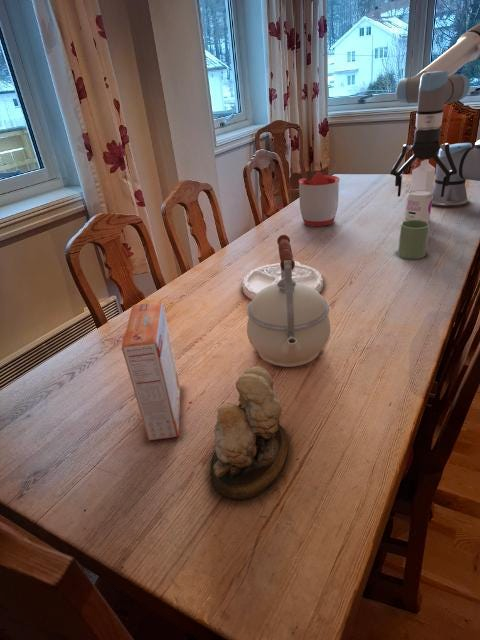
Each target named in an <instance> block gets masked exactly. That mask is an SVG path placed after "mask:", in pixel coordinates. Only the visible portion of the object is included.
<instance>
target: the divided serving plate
mask: <svg viewBox="0 0 480 640" xmlns="http://www.w3.org/2000/svg"><path fill="white" fill-rule="evenodd" d="M293 261H294V263H295V267H294V269H293V270H292V280H293V281H294V282H296V283H301V284H305V285H308V286H310V287H312V288H314V289H315V290H316V291H318V292H319V294H320V293H321V292H322V290H323V287H324V280H323V274H322V273H320V272H319V270H318V269H315V268H314V267H313V266H309V265H307V264H301V262H299V261H297V260H293ZM280 263H281V262H280ZM280 263H279V262H276V263H271V264H270V263H269V264H266V265H263V266H259V267H257V268H254V269H251V271H250V272H247V273H246V275H245V276H244V277H243V278H242V279H243V281H242V291H243V294H244V295H245V296H246V297H247V298H249V299H250V300H251V301H252V300H253V298H254V297H255V296H256V294H257V293H258V292H259V291H261V290H262V289H264V288H266V287H268V286H270V285H273V284H277V283H278V282H279V281H280V280H281V266H280Z"/></svg>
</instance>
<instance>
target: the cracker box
mask: <svg viewBox="0 0 480 640" xmlns="http://www.w3.org/2000/svg"><path fill="white" fill-rule="evenodd" d="M121 351H122V354H123V357H124V361H125V364H126V369H127V371H128V375H129V378H130V382H131V385H132V389H133V392H134V396H135V399H136V402H137V406H138V410H139V413H140V417H141V421H142V423H143V427H144V430H145V435H146V438H147V440H148V441H149V442H150V441H156V440H164V439H173V438H179V436H180V411H181V390H182V389H181V382H180V379H179V373H178V369H177V364H176V360H175V355H174V351H173V346H172V341H171V337H170V331H169V327H168V321H167V316H166V312H165V308H164V303H163V301H156V302H149V303H148V302H147V303H138V304H132V306H131V309H130V314H129V317H128V322H127V324H126V329H125V333H124V337H123V340H122V344H121Z"/></svg>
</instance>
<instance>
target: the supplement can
mask: <svg viewBox="0 0 480 640" xmlns="http://www.w3.org/2000/svg"><path fill="white" fill-rule="evenodd" d="M432 206H433V205H432V195H431V192H430V191H425V190H414V191H410V190H409V192H408V194H407V195H406V199H405V208H404V218H403V222H404V221H408V220H421V221H426V222H428V223H429V224H430V220H431V219H430V218H431V212H432Z"/></svg>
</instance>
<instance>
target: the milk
mask: <svg viewBox="0 0 480 640" xmlns="http://www.w3.org/2000/svg"><path fill="white" fill-rule="evenodd" d="M429 160H430V159H423V160H422V161H421V160H420V165H419V166H417V167H416V168H414V169H412V170H411V177H410V184H409V192H410V191H414V190H425V191H430V192H431V195H432V190H433V185H434V182H435V174H436V167H434V166H433V165H432V164H431V163H430V161H429Z"/></svg>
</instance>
